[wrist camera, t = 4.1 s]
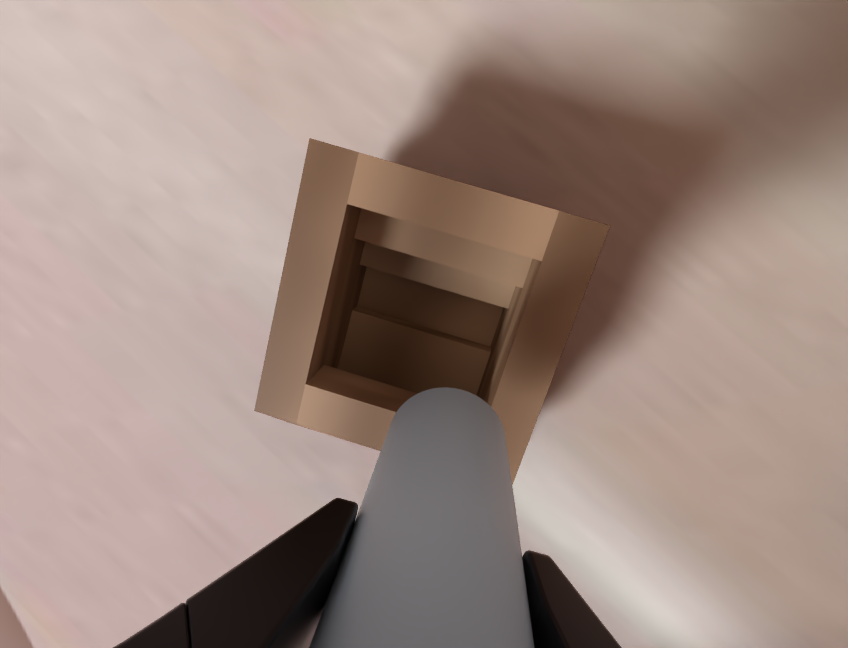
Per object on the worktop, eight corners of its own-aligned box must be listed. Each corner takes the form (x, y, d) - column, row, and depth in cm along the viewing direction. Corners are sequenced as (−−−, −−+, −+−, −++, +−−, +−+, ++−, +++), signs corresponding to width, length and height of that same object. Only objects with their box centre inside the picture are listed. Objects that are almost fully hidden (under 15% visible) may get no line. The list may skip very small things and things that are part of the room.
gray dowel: (520, 405, 12) (715, 1240, 2) (487, 506, 13) (533, 1442, 3) (402, 373, 12) (131, 1054, 2) (377, 477, 13) (96, 1299, 3)
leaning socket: (571, 218, 20) (610, 225, 14) (485, 459, 23) (487, 548, 17) (358, 156, 20) (309, 138, 14) (301, 402, 23) (242, 470, 17)
